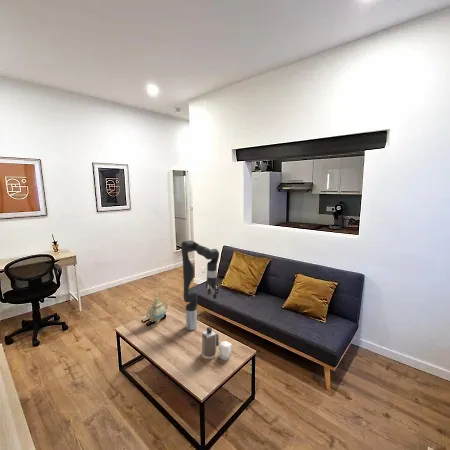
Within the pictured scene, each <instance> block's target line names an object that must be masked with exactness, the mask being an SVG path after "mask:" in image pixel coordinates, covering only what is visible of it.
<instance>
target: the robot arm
mask: <svg viewBox="0 0 450 450" xmlns="http://www.w3.org/2000/svg"><path fill="white" fill-rule="evenodd" d="M180 248H181V257H182V274H183V276H182V277H183V301H184V303H187V304H186V305H185V329H186V330H188V331H194V330H197V328H198V311H197V309H198V307H197V306H198V292H197V290H196V289H190V285H191V283H192V281H193V279H194V277H195V267H194V264H193V263H192V262H191V260H190V258H189V253H191V252H196V253H197V254H198V255H199V256H203V257H204V258H205V259H206V260H209V261H208V262H207V264H206V266H207V267H206V281H205V288H206V290H207V295H208V296H209V295H211V293H213V294H212V295H213V296H212V297H213V299H214V300H216V299H217V295H219V286H218V285H217V282H218V272H217V271H218V269H217V268H218V261H219V259H220V251H219V250H218V249H217V248H213V249H210V248H209V247H206V246H203V245H201V244H199V243H197V242H196V241H194V240H185V241H182V242H181V245H180Z"/></svg>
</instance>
